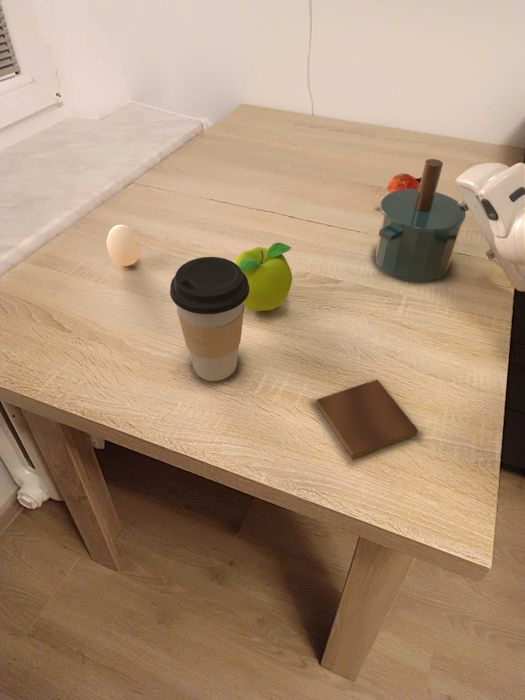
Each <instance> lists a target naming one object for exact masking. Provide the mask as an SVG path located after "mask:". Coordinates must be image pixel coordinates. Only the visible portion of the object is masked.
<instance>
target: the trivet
mask: <svg viewBox="0 0 525 700" xmlns="http://www.w3.org/2000/svg"><path fill="white" fill-rule="evenodd" d="M315 405H316V407H317V408H318V409H319V411H320V412H321V414H322V415H323V418H324V419H325V420H326V422H327V423H328V425H329V426H330V428H331V430H332V431H333V432H334V434H335V435H336V437H337V438H338V441H340V443H341V445H342V447H343V448H344V450H345V451H346V452H347V454H348V455H349V457H350V459H351V460H355V459H357V458H359V457H362V456H365V455H367V454H370V453H373V452H375V451H378V450H380V449H383V448H386V447H388V446H391V445H394V444H396V443H399V442H402V441H405V440H407V439H409V438H412V437H415V436H417V435H418V431H419V429H418V428H417V427H416V426H415V425H414V423H413V422H412V420H411V419H410V418H409V417H408V416H407V414H406V413H405V412H404V410H403V409H402V407H400V406H399V404H398V403H397V401H396V400H394V398H393V397H392V396H391V394H389V392H388V391H387V390H386V388H385V387H384V385H383V384H382V383H381V382H380V381H379V380H378V379H375V380H371V381H367V382H366V383H363V384H359V385H357V386H353V387H351V388H348V389H344V390H342V391H341V390H340V391H338V392H335V393H332V394H329V395H326V396H323V397H320V398H317V399H316V403H315Z"/></svg>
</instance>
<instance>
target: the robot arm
mask: <svg viewBox="0 0 525 700" xmlns="http://www.w3.org/2000/svg"><path fill="white" fill-rule="evenodd" d="M455 186H456V188H457V190H458V192H459V193H460V195H461V197H462V199H461V200H459V201H458V203H457V204H458V206H459V207H460V209H461V211H465V212H468V211H470V213H471V215H472V217H473V219H474V220H475V223H476V224H477V226H478V228H479V229H480V231H481V232H482V235H483V236H484V238H485V240H486V242H487V244H488V245H489V248H490V249H489V250H487V251H486V252H485V255H486V257H487V259H488V261H489V262H494V263H495V264H496V265H497V266H499V267H500V268H501V269H502V271H503V273H504V274H505V276H506V278H507V280H508V281H509V283H510V285H511V287H513V289H515V290H516V291H518V292H523V293H525V163H524V162H517V163H515V164H514V165H512V166H510V167H509V165H506V164H504V163H502V162H501V163H500V162H485V163H478V164H475V165H473V166H471V167H469V168H468V169H466V170H465V171H464V172H462V173H461V174H460V175H458V176H457V178H456V179H455Z"/></svg>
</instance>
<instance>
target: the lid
mask: <svg viewBox="0 0 525 700" xmlns="http://www.w3.org/2000/svg"><path fill="white" fill-rule="evenodd" d="M443 165H444V162H443V161H442V160H439V159H436V158H428V159H426V160H425V161H424V166H423V169H422V174H421V177H422V178H421V177H420V178H421V182H420V186H419V189H406V190H399V191H395V192H392V193H390V192H389V193H388V194H386V195H385V196H384V197H383V198H382V199H381V202H380V205H379V210H380V212H381V214H382V216H383V215H384V216H385V217H386V218H387V219H388V220H389V221H391V222H392V223H394V224H396V225H398V226H400V227H403V228H406V229H409V230H414V231H419V232H428V233H437V232H446V231H450V230H453V229H455V228H457V227H459V226H460V225H461V224H462V223H463V224H464V222H465V219H466V216H467V214H466V212H467V211H461V209H460V207H459V206H458V204H457V203H458V202H459V201H458V200H456V199H454V198H453V197H450V196H448V195H446V194H444V193H440V192H437V188H438V185H439V181H440V177H441V173H442V169H443ZM457 201H458V202H457ZM463 224H462V225H463Z"/></svg>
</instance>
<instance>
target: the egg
mask: <svg viewBox="0 0 525 700" xmlns="http://www.w3.org/2000/svg"><path fill="white" fill-rule="evenodd" d="M106 249H107V253H108V255H109V257H110V258H111V260H112V261H113V262H114V263H116V264H117V265H119V266H122V267H130V266H132V265H134V264H135V263H136V262H137V260H138V259H139V257H140V255H141V245H140V241H139V238H138V236H137V235H136V233H135V232H134V231H133V230H132V229H131V228H130V227H129V226H127V225H125V224H118V225H117V224H116V225H114V226H113V227H112V228H111V229H110V230H109V232H108V235H107V238H106Z"/></svg>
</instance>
